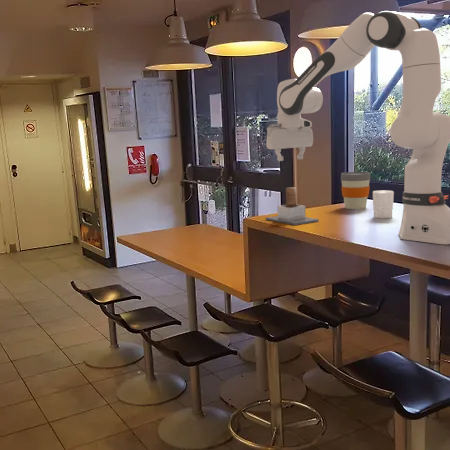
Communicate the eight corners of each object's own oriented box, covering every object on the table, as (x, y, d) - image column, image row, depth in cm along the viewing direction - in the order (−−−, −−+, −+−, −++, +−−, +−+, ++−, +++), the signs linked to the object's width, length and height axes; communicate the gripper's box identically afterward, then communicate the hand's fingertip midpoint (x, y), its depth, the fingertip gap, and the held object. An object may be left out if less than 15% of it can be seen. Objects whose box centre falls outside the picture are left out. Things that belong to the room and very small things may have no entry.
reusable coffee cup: (342, 205, 251) (342, 172, 248) (371, 205, 247) (371, 171, 244) (339, 209, 239) (339, 174, 236) (369, 209, 235) (369, 174, 232)
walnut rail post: (298, 218, 217) (298, 187, 214) (290, 219, 215) (290, 188, 212) (292, 217, 220) (291, 187, 218) (284, 218, 218) (283, 188, 216)
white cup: (397, 217, 214) (398, 191, 213) (380, 219, 212) (380, 193, 210) (385, 214, 222) (385, 189, 220) (368, 216, 219) (368, 191, 217)
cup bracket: (318, 221, 213) (318, 206, 212) (294, 225, 207) (293, 210, 206) (289, 216, 228) (289, 202, 227) (265, 219, 222) (265, 205, 221)
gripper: (272, 124, 203) (273, 162, 205) (315, 122, 213) (316, 158, 216) (262, 124, 208) (263, 161, 211) (304, 122, 219) (305, 158, 221)
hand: (290, 160), depth 213 cm, fingers open, 8 cm apart
